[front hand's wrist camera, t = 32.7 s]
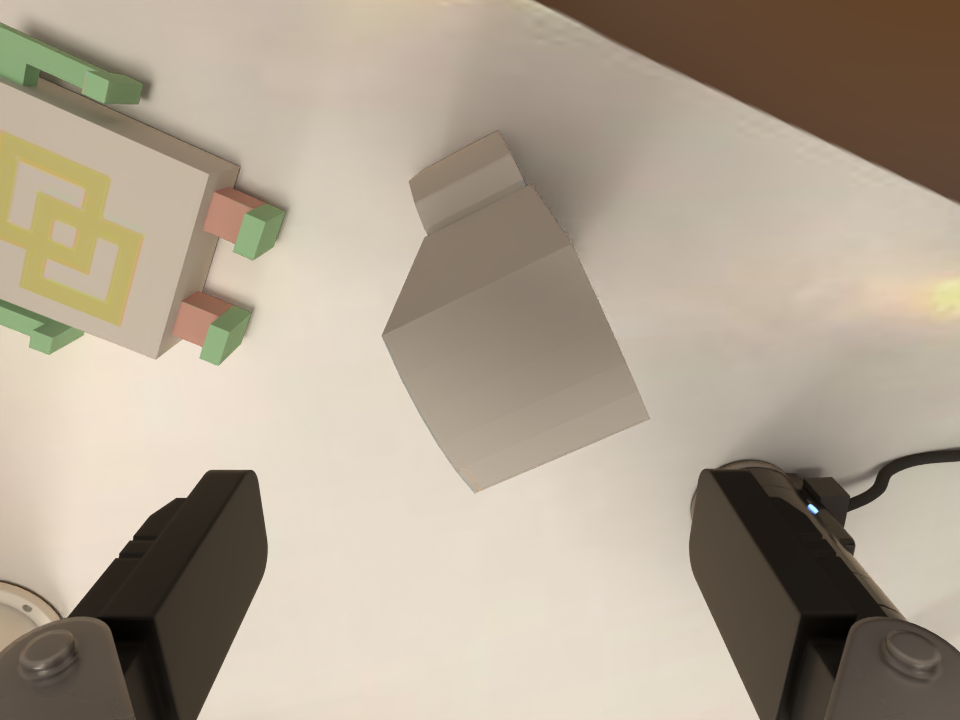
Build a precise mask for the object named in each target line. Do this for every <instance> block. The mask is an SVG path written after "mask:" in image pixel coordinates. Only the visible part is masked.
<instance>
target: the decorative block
mask: <svg viewBox="0 0 960 720" xmlns="http://www.w3.org/2000/svg"><path fill="white" fill-rule="evenodd" d="M40 70H42V71H44V72H47V73H49V74H51V75H53V76H55V77H58V78H60V79H62V80H64V81H67V82H69V83H71V84H73V85H75V86H78V87H80V88H82V92H81V94H84V95H86V96H88V97H90V98H93V99H95V100H97V101H99V102H101V103H104V104H139V100H140V96H141V92H142V88H143V83H141V82H139V81H136V80H134V79H132V78H130V77H128V76H125V75H123V74H115V73H110V72H108V71H106V70H103V69H101V68H99V67H97V66H95V65H92V64H90V63H88V62H86V61H84V60H81V59H79V58H77V57H75V56H73V55H71V54H68V53H66V52H64V51H62V50H60V49H57V48H55V47H53V46H51V45H49V44H46V43H44V42H42V41H40V40H38V39H36V38H33V37H31V36H29V35H27V34H25V33H22V32H20V31H18V30H16V29H14V28H11V27H9V26H7V25H5V24H3V23H1V22H0V325H3V326H5V327H8V328H11V329H13V330H16V331H18V332H21V333H24V334H26V335H29V336H31V339H30V344H29V347H30V348H32V349H35V350H37V351H40V352H43V353H45V354H48V355H50V354H51V353H53V352H55V351H57V350H58V349H60V348H62V347H64V346H65V345H67V344H69V343H71V342H72V341H74V340H76V339H78V338H80V337H81V336H83V335H84V332H86V333H89V334H91V335H94V336H97V337H99V338H102V339H104V340H107V341H109V342H112V343H114V344H117V345H120V346H122V347H125V348H127V349H130V350H132V351H135V352H137V353H140V354H143V355H145V356H148V357H150V358H153V359H155V360H156V359H157V358H159V357H160V356H161V355H162V354H164V353H165V352H166V351H168V350H169V349H170V348H172V347H173V346H174V345H175V344H177V343H178V342H179V341H181V340H182V339H184V340H186V341H189V342H191V343H194V344H196V345H199V346H201V347H203V348H202V351H201V355H200V359H203V360H205V361H208V362H210V363H213V364H215V365H218V366H219V365H220V364H221V363H222V362H223V361H224V360H225V359H226V358H227V357H228V356H229V355H230V354H231V353H232V352H233V351H234V350H235V349H236V348H237V347H238V346H239V345H240V344H241V342H242V339H243V336H244V333H245V330H246V327H247V324H248V321H249V318H250V315H251V312H248V311H246V310H243V309H241V308H239V307H236V306H234V305H231V304H229V303H226V302H224V301H222V300H219V299H217V298H214V297H212V296H209V295H207V294H205V293H202V291H203V287H204V284H205V281H206V277H207V274H208V271H209V268H210V264H211V261H212V258H213V254H214V251H215V248H216V245H217V241H218V238H219V237H221V238H223V239H226V240H228V241H230V242H233V243H235V247H234V250H233V252H234V253H237V254H239V255H241V256H244V257H246V258H248V259H251V260H254V259H256V258H258V257H259V256H261V255H262V254H264V253H265V252H267V251H268V250H270V249H271V248H273V247H274V244H275V241H276V238H277V235H278V233H279V230H280V227H281V224H282V221H283V218H284V215H285V211H283V210H280V209H278V208H276V207H274V206H271V205H269V204H267V203H265V202H262V201H260V200H258V199H255V198H253V197H251V196H249V195H246V194H244V193H242V192H240V191H237V190H235V189H234V185H235V182H236V179H237V176H238V172H239V169H240V167H239V166H237V165H234V164H232V163H230V162H228V161H225V160H223V159H221V158H219V157H217V156H214V155H212V154H210V153H208V152H205V151H203V150H201V149H199V148H196V147H194V146H192V145H190V144H188V143H185V142H183V141H181V140H179V139H176V138H174V137H172V136H170V135H167V134H165V133H163V132H161V131H158V130H156V129H154V128H152V127H150V126H147V125H145V124H143V123H141V122H138V121H136V120H134V119H132V118H129V117H127V116H125V115H123V114H121V113H118V112H116V111H114V110H112V109H109V108H107V107H105V106H103V105H100V104H98V103H96V102H94V101H92V100H89V99H87V98H85V97H83V96H80V95H78V94H76V93H74V92H71V91H69V90H67V89H65V88H63V87H60V86H58V85H56V84H54V83H51V82H49V81H47V80H45V79H42V78H40V77H39V73H40Z"/></svg>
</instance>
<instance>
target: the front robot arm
mask: <svg viewBox="0 0 960 720" xmlns="http://www.w3.org/2000/svg"><path fill="white" fill-rule="evenodd" d="M956 461H960V450H956V451H941V452H929V453H921V454H916V455H911V456H907V457H904V458H901V459H898V460H896V461H894V462H892V463H890V464H888V465H886V466H885V467H883V468H882V469H881V470H880V471H879V473H878V475H877V477H876V480H875V483H874V485H873V486H872V487H871V488H870V489H868V490H867V491H865V492H864V493H862V494H860V495H857V496H855V497H853V498H850V495H849V494H848V493H847V492H846V491H845V490H844V489H843V488H842V487H841V486H840V485H839V484H838V483H837V482H836V481H835V480H834V479H833V478H832V477H824V478H804V482H803V481H802V480H801V478H800V477H799V476H798V475H797V474H785V473H784V472H783V471H782V470H781V469H779V468H778V467H776V466H774V465H772V464H769V463H766V462H761V461H741V462H736V463H732V464H729V465H727V466H724V467H722V468H720V469H704V470H702V472H701V474H700V476H699V480H698V486H697V491H696V493H695V495H694V497H693V500H692V504H691V518H692V526H691V533H690V541H689V554H690V562H691V567H692V571H693V574H694V577H695V579H696V581H697V583H698V586H699V588H700V590H701V592H702V594H703V597H704V599H705V601H706V603H707V605H708V607H709V610H710V612H711V614H712V616H713V618H714V620H715V623H716V625H717V627H718V629H719V631H720V634H721V636H722V638H723V640H724V642H725V644H726V647H727V649H728V651H729V653H730V655H731V657H732V660H733V662H734V664H735V666H736V668H737V671H738V673H739V675H740V677H741V679H742V681H743V684H744V686H745V688H746V690H747V692H748V694H749V697H750V699H751V701H752V703H753V705H754V708H755V710H756V712H757V714H758V716H759V718H760V720H960V652H959V651H958V650H957V649H956V648H955V647H953V646H952V645H951V644H950V643H948V642H947V641H946V640H944V639H942V638H941V637H939V636H938V635H936V634H934V633H933V632H931V631H929V630H927V629H925V628H923V627H920V626H918V625H916V624H913V623H910V622H908V621H907V620H906V619H905V617H904V616H903V615H902V614H901V613H900V611H899V610H898V609H897V608H896V607H895V605H894V604H893V603H892V602H891V601H890V600H889V598H888V597H887V596H886V595H885V594H884V592H883V591H882V590H881V589H880V588H879V586H878V585H877V584H876V583H875V582H874V581H873V579H872V578H871V577H870V576H869V575H868V573H867V572H866V571H865V570H864V569H863V567H862V566H861V565H860V564H859V563H858V561H857V560H856V559H855V558H854V557H853V556H854V551H855V541H854V540H853V538H852V537H851V536H850V535H849V534H848V532H847V531H846V530H845V529H844V524H845V519H846V514H847V512H849V511H851V510H854V509H857V508H859V507H861V506H864V505H866V504H868V503H870V502H872V501H873V500H875V499H876V498H878V497H879V496H880V495H881V494H882V493H883V492H884V491H885V490H886V488H887V486H888V482H889V479H890V477H891V476H892V475H893V474H895V473H897V472H899V471H901V470H904V469H906V468H909V467H913V466H917V465H923V464H930V463H942V462H956ZM267 553H268V544H267V536H266V529H265V522H264V516H263V509H262V503H261V496H260V489H259V483H258V478H257V476H256V473H255V472H254V471H253V470H209V471H208V472H206V473H205V475H204V476H203V477H202V479H201V480H200V481H199V482H198V484H197V485H196V486H195V488H194V489H193V490H192V492H191V493H190V494H189V496H188V497H187V498H176V499H174V500H173V501H171V502H170V503H168V504H167V505H165V506H164V507H162V508H161V509H159V510H158V511H156V512H155V513H153V514H152V515H151V516H150V517H149V518H148V519H147V520H146V521H145V523H144V524H143V525H142V526H141V528H140V529H139V530H138V531H137V533H136V534H135V535H134V536H133V541H129V542H128V544H127V545H126V546H125V547H124V549H123V550H122V551H121V552H120V553H119V558H115V560H114V561H113V562H112V563H111V565H110V566H109V567H108V568H107V569H106V571H105V572H104V573H103V574H102V576H101V577H100V578H99V579H98V580H97V582H96V583H95V584H94V585H93V587H92V588H91V589H90V590H89V592H88V593H87V594H86V595H85V596H84V598H83V599H82V600H81V601H80V603H79V604H78V605H77V606H76V608H75V609H74V610H73V611H72V612H71V614H70V615H69V616H68V617H67V618H64V619H60V620H56V621H53V622H50V623H47V624H44V625H42V626H40V627H37V628H35V629H33V630H31V631H29V632H27V633H26V634H24V635H22V636H21V637H19V638H18V639H16V640H14V641H13V642H12V643H10V644H9V645H8V646H7V647H5V648H4V649H3V650H2V651H1V652H0V720H197V717H198V715H199V713H200V711H201V709H202V707H203V705H204V702H205V700H206V698H207V696H208V694H209V692H210V690H211V687H212V685H213V683H214V681H215V679H216V677H217V674H218V672H219V670H220V668H221V666H222V664H223V662H224V659H225V657H226V655H227V653H228V651H229V649H230V647H231V644H232V642H233V640H234V638H235V636H236V634H237V631H238V629H239V627H240V625H241V623H242V621H243V619H244V616H245V614H246V612H247V610H248V608H249V606H250V604H251V601H252V599H253V597H254V595H255V593H256V591H257V589H258V586H259V584H260V582H261V580H262V578H263V575H264V572H265V568H266V563H267Z"/></svg>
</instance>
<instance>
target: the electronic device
mask: <svg viewBox="0 0 960 720" xmlns="http://www.w3.org/2000/svg"><path fill="white" fill-rule="evenodd" d="M409 184H410V188H411V191H412V195H413V199H414V203H415V205H416V208H417V211H418V213H419V216H420V219H421V221H422V224H423V227H424V229H425V231H426V232H427V234H428V236H426V237H425V238H424V240H423V242H422V244H421V247H420V249H419V251H418V254H417V256H416V258H415V260H414V263H413V265H412V267H411V270H410V272H409V274H408V277H407V279H406V281H405V283H404V286H403V288H402V290H401V293H400V295H399V297H398V299H397V302H396V304H395V306H394V309H393V311H392V313H391V316H390V318H389V320H388V322H387V325H386V327H385V329H384V332H383V334H382V338H383V340H384V342H385V344H386V347H387V349H388V351H389V353H390V355H391V358H392V360H393V362H394V364H395V366H396V369H397V371H398V373H399V375H400V378H401V380H402V382H403V384H404V385H405V387H406V389H407V391H408V393H409V395H410V397H411V399H412V401H413V403H414V404H415V406H416V408H417V410H418V412H419V414H420V416H421V417H422V419H423V421H424V422H425V424H426V426H427V427H428V429H429V431H430V432H431V434H432V436H433V437H434V439H435V441H436V442H437V444H438V446H439V447H440V449H441V450H442V452H443V453H444V455H445V456H446V457H447V459H448V460H449V462H450V463H451V465H452V466H453V468H454V469H455V471H456V472H457V473H458V474H459V475H460V477H461V478H462V479H463V480H464V481H465V483H466V484H467V485H468V486H469V487H470V489H471V490H472V491H473V492H474V493H477V492H479V491H482V490H484V489H486V488H489V487H491V486H493V485H496V484H498V483H500V482H503V481H505V480H507V479H510V478H512V477H514V476H517V475H519V474H521V473H524V472H526V471H529V470H531V469H533V468H536V467H538V466H540V465H543V464H545V463H547V462H550V461H552V460H554V459H557V458H559V457H561V456H564V455H566V454H568V453H571V452H573V451H576V450H578V449H580V448H583V447H585V446H587V445H590V444H592V443H594V442H597V441H599V440H601V439H604V438H606V437H608V436H611V435H613V434H616V433H618V432H620V431H623V430H625V429H627V428H630V427H632V426H634V425H637V424H639V423H641V422H644V421H646V420H648V419H650V418H649V416H648V413H647V411H646V408H645V406H644V404H643V401H642V399H641V396H640V394H639V392H638V389H637V387H636V385H635V382H634V380H633V378H632V375H631V373H630V371H629V368H628V366H627V364H626V362H625V359H624V357H623V355H622V353H621V350H620V348H619V346H618V344H617V341H616V339H615V337H614V335H613V332H612V330H611V328H610V326H609V323H608V321H607V319H606V317H605V315H604V312H603V310H602V308H601V306H600V304H599V302H598V299H597V297H596V295H595V293H594V291H593V288H592V286H591V284H590V282H589V280H588V278H587V275H586V273H585V271H584V269H583V267H582V265H581V263H580V260H579V258H578V256H577V254H576V252H575V250H574V248H573V245H572V243H571V242H570V240H569V239H568V238H567V236H566V235H565V233H564V232H563V230H562V229H561V227H560V226H559V224H558V223H557V222H556V220H555V219H554V217H553V216H552V214H551V213H550V211H549V210H548V208H547V207H546V206H545V204H544V203H543V201H542V200H541V198H540V197H539V195H538V194H537V192H536V191H535V190H534V188H533V187H532V185H531V184H528V185H525V182H524V180H523V178H522V176H521V174H520V172H519V170H518V167H517V165H516V163H515V161H514V159H513V157H512V155H511V153H510V151H509V149H508V147H507V146H506V144H505V142H504V140H503V138H502V137H501V135H500V133H499V131H498V130H497V131H496V132H494V133H492V134H490V135H488V136H486V137H484V138H482V139H480V140H479V141H477V142H475V143H473V144H471V145H469V146H467V147H465V148H463V149H461V150H460V151H458V152H456V153H454V154H452V155H450V156H448V157H446V158H444V159H443V160H441V161H439V162H437V163H435V164H433V165H431V166H429V167H427V168H425V169H424V170H422V171H421V172H420V173H418V174H417V175H416V176H415V177H413V178H412V179H411V180H410V181H409Z"/></svg>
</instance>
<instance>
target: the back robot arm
mask: <svg viewBox="0 0 960 720" xmlns="http://www.w3.org/2000/svg"><path fill="white" fill-rule="evenodd" d="M56 620H60V618H59V616H58V615H57V614H56V612H55V611H54V610H53V609H52V608H51V607H50V606H49V605H48V604H47V603H45V602H44V601H43V600H42V599H40V598H39V597H37V596H35V595H34V594H32V593H31V592H29V591H26V590H24V589H22V588H19V587H17V586H14V585H10V584H7V583H2V582H0V652H1V651H2V650H3V649H4V648H5V647H7V646H8V645H9V644H10V643H12V642H13V641H14V640H16V639H18V638H19V637H21V636H22V635H24V634H26V633H27V632H29V631H31V630H33V629H35V628H37V627H40V626H42V625H44V624H47V623H50V622H53V621H56Z"/></svg>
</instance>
